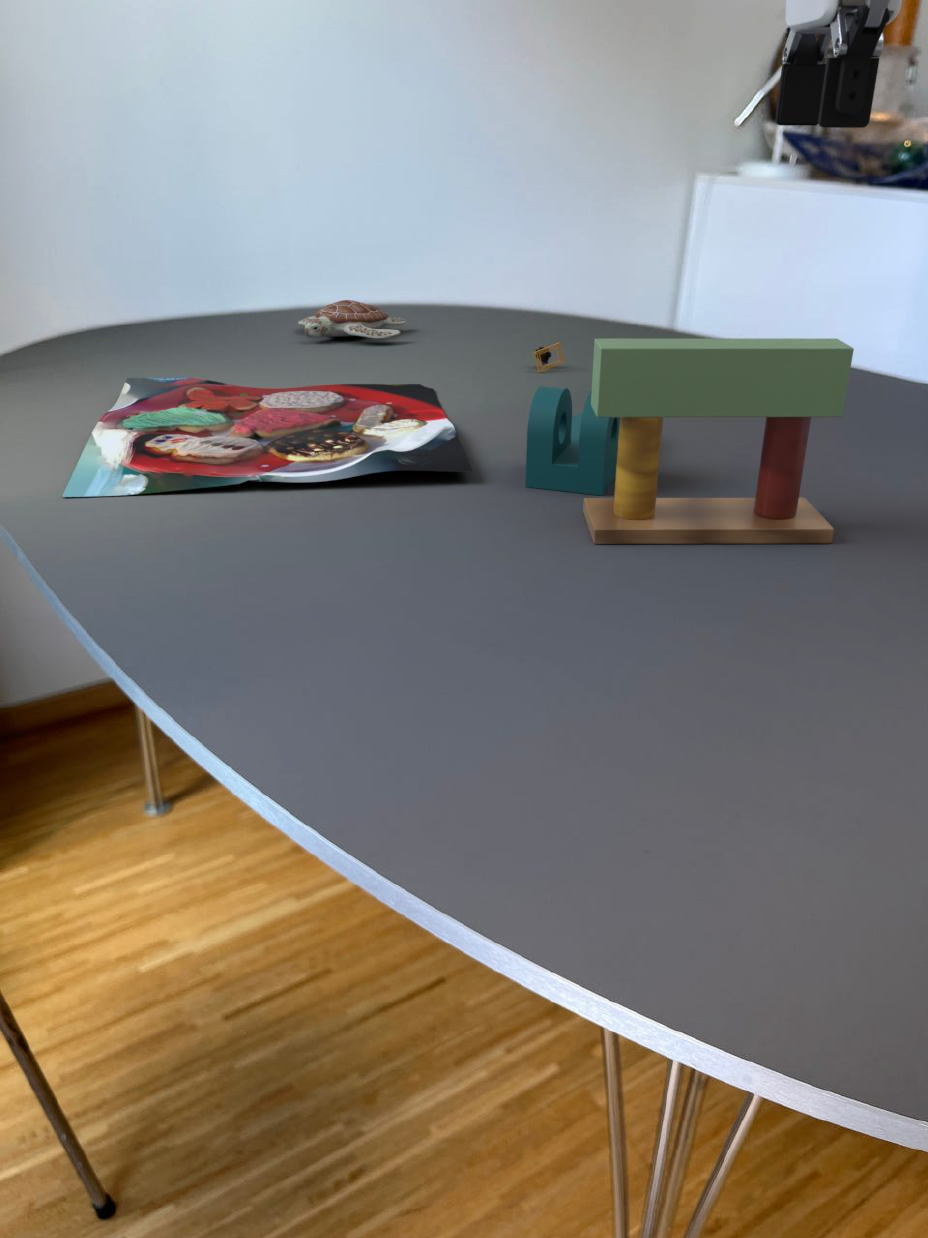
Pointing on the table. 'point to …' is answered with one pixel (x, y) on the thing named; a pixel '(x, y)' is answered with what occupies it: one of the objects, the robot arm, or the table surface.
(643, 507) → the rods
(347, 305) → the decorative turtle
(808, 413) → the bar
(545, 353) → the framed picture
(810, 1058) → the table surface
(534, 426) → the bracket
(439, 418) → the printed food placemat
